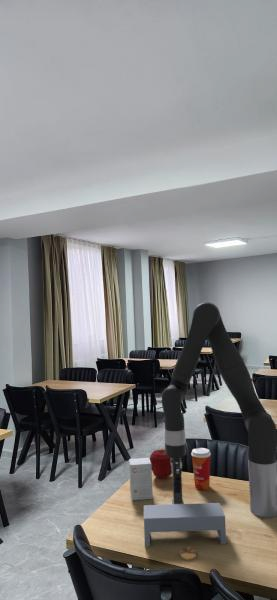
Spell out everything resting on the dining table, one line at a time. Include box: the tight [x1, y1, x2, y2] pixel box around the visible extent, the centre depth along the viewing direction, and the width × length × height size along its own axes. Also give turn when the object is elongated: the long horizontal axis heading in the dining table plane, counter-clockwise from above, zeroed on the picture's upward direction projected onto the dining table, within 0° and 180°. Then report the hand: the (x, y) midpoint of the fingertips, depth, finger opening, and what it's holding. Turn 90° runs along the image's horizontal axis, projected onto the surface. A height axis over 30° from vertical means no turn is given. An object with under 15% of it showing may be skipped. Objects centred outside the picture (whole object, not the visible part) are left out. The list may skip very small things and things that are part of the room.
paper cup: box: [190, 447, 212, 491], centre depth 152 cm, size 8×8×14 cm
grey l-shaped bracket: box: [171, 471, 185, 504], centre depth 131 cm, size 4×18×11 cm, turn 0°
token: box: [179, 546, 197, 561], centre depth 109 cm, size 4×4×1 cm
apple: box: [149, 448, 172, 480], centre depth 162 cm, size 11×11×12 cm
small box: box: [128, 457, 154, 501], centre depth 146 cm, size 8×6×13 cm
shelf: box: [143, 502, 227, 547], centre depth 117 cm, size 24×8×8 cm, turn 90°
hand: (177, 490), depth 138 cm, fingers closed on grey l-shaped bracket, 3 cm apart
